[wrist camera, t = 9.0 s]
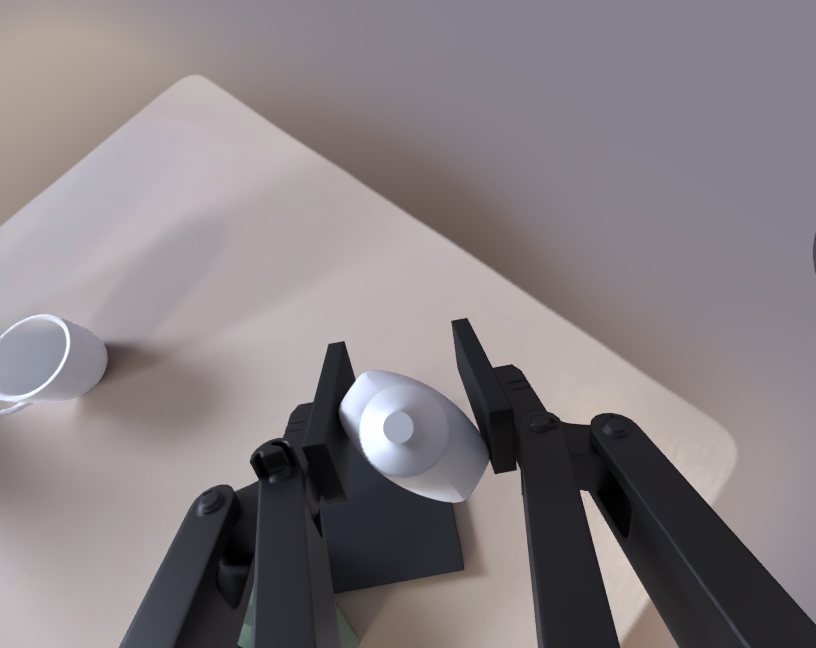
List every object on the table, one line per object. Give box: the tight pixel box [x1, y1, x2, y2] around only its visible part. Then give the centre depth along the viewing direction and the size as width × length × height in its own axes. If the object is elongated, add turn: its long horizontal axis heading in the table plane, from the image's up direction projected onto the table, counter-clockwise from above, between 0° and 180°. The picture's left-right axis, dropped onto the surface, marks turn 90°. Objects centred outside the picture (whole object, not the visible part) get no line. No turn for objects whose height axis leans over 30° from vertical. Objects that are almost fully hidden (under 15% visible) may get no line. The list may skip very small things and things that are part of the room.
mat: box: [319, 444, 464, 594], centre depth 30 cm, size 12×12×1 cm
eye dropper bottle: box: [338, 370, 490, 503], centre depth 14 cm, size 4×6×12 cm
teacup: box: [0, 315, 108, 416], centre depth 34 cm, size 10×8×5 cm
